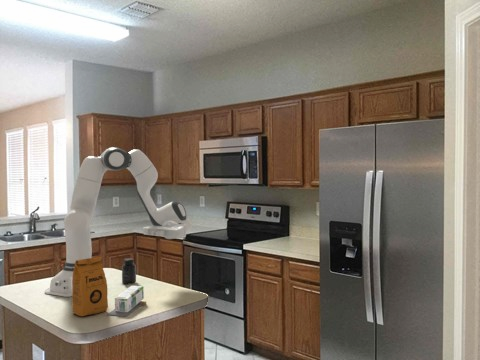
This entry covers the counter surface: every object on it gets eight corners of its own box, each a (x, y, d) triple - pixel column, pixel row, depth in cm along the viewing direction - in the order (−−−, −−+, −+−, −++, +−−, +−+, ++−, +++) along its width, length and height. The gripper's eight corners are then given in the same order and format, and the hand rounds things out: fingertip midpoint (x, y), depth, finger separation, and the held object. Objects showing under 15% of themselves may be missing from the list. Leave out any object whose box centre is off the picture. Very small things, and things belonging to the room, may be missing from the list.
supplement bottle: (138, 282, 207) (138, 259, 206) (126, 285, 202) (126, 261, 201) (131, 280, 211) (131, 257, 211) (119, 283, 206) (119, 259, 206)
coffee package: (110, 312, 164) (110, 257, 163) (79, 320, 155) (79, 262, 155) (100, 306, 171) (99, 253, 170) (69, 313, 162) (69, 258, 162)
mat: (107, 315, 160) (107, 314, 160) (123, 304, 173) (123, 303, 173) (125, 316, 158) (125, 315, 158) (140, 305, 171) (140, 304, 171)
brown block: (123, 303, 174) (123, 300, 174) (124, 302, 175) (124, 300, 175) (145, 305, 172) (145, 302, 172) (146, 304, 173) (146, 301, 173)
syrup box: (144, 298, 176) (128, 312, 162) (131, 298, 177) (114, 311, 163) (143, 286, 175) (127, 298, 161) (131, 285, 176) (114, 297, 162)
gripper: (152, 222, 205) (135, 225, 192) (188, 224, 197) (173, 228, 184) (152, 234, 205) (135, 238, 192) (188, 237, 197) (173, 242, 184)
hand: (154, 233), depth 188 cm, fingers closed
